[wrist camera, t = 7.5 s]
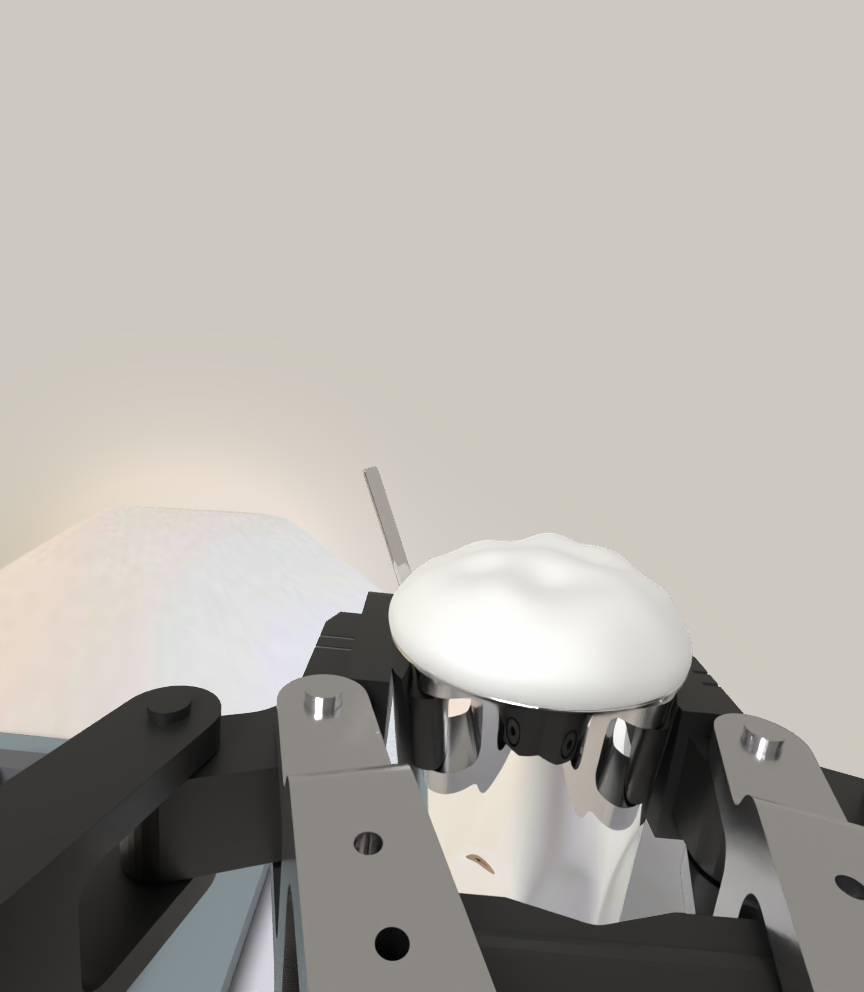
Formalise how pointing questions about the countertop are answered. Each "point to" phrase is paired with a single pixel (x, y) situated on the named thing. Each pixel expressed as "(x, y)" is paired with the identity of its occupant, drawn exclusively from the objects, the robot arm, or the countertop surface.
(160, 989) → the port plate
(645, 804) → the milkshake
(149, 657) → the countertop surface
